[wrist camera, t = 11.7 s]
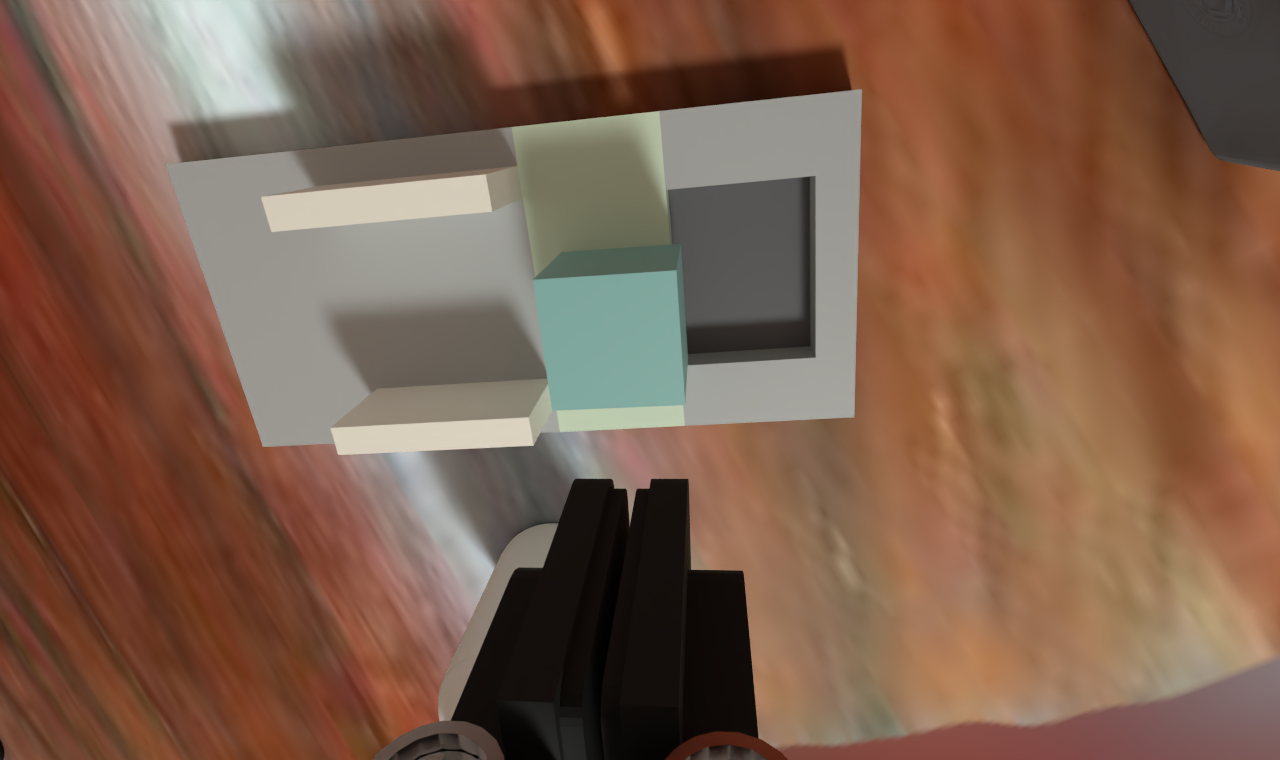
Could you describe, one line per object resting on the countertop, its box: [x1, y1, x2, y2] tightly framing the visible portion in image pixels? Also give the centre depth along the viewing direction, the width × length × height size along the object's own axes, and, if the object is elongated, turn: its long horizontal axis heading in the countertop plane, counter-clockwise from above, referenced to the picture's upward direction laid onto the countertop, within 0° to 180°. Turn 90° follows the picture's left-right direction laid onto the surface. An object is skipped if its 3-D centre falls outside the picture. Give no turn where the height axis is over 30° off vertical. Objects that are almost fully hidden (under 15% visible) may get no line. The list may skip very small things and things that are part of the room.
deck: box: [166, 89, 862, 455], centre depth 32 cm, size 16×34×7 cm, turn 96°
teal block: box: [533, 244, 688, 411], centre depth 31 cm, size 6×6×6 cm
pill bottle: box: [438, 523, 558, 721], centre depth 36 cm, size 8×8×15 cm
